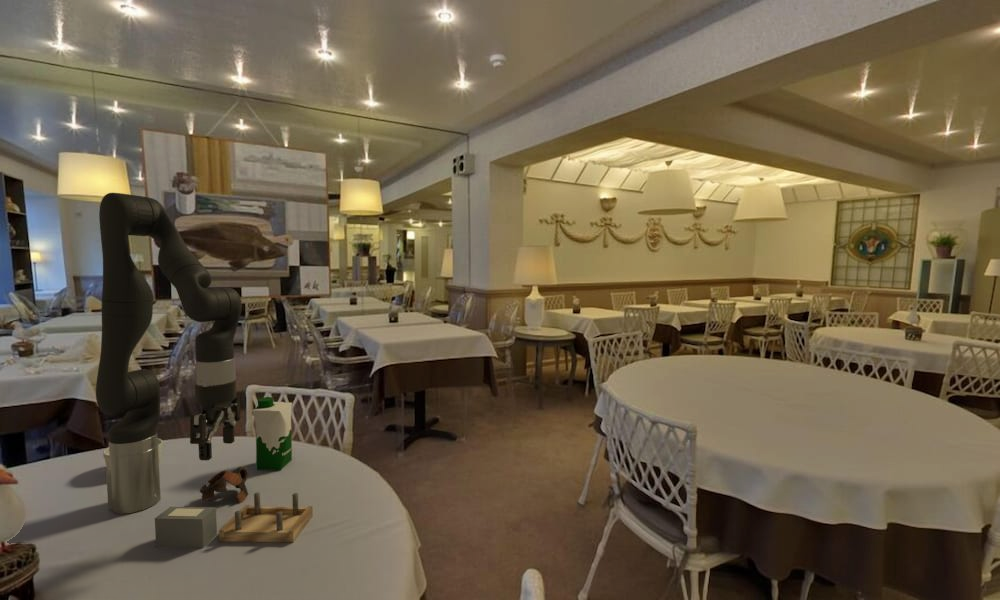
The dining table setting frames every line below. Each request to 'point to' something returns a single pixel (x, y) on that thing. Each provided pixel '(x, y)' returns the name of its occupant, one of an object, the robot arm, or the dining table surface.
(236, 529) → the pin tray
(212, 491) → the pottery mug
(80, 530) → the dining table surface
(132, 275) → the robot arm
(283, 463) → the milk carton
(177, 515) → the block
